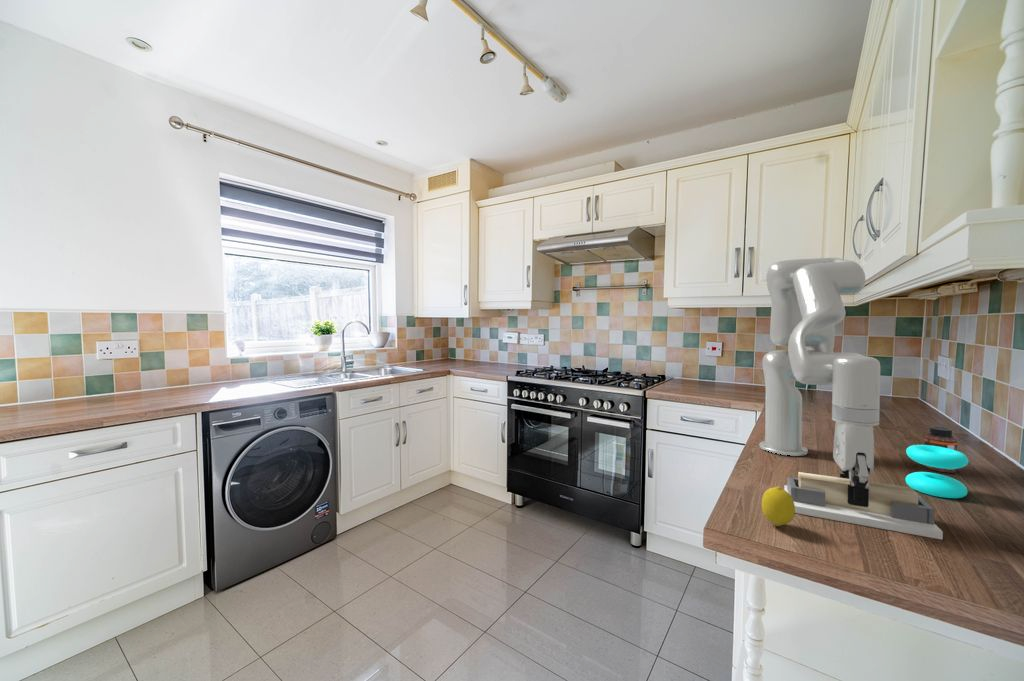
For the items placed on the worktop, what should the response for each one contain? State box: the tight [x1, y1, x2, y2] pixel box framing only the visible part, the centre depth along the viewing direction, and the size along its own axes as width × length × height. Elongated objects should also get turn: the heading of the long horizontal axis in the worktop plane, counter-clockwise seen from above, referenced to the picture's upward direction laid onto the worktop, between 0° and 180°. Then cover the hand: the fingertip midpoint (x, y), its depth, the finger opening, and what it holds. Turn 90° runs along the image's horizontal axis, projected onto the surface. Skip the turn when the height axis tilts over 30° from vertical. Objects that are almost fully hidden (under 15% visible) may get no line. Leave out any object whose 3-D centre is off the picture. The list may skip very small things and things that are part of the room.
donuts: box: [905, 444, 969, 499], centre depth 93 cm, size 10×10×10 cm
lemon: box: [761, 486, 796, 527], centre depth 78 cm, size 6×6×8 cm
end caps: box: [786, 476, 935, 525], centre depth 83 cm, size 7×22×3 cm, turn 61°
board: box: [783, 484, 944, 540], centre depth 83 cm, size 12×23×2 cm, turn 61°
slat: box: [797, 471, 919, 515], centre depth 83 cm, size 4×19×5 cm, turn 61°
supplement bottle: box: [923, 426, 958, 474], centre depth 106 cm, size 6×6×11 cm
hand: (853, 498), depth 83 cm, fingers open, 6 cm apart
